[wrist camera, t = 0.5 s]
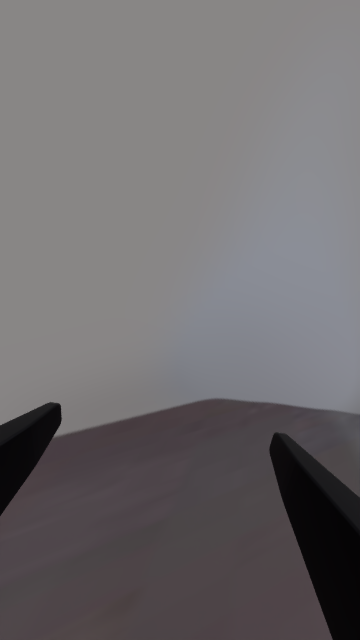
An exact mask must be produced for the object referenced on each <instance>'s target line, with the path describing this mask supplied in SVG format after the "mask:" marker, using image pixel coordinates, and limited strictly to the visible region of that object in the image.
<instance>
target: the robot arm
mask: <svg viewBox="0 0 360 640" xmlns="http://www.w3.org/2000/svg"><path fill="white" fill-rule="evenodd" d="M61 419H62V418H61V405H60V404H59V403H53V402H50V403H47V404H45V405H43V406H41V407H38V408H37V409H34V410H32V411H30V412H28V413H26V414H24V415H22V416H19V417H17V418H15V419H13V420H11V421H9V422H7V423H5V424H2V425H0V516H1V514H2V513H3V511H4V510H5V509H6V507H7V506H8V504H9V503H10V501H11V500H12V499H13V497H14V496H15V494H16V493H17V492H18V490H19V489H20V487H21V486H22V485H23V483H24V482H25V480H26V479H27V478H28V476H29V475H30V473H31V472H32V470H33V469H34V467H35V466H36V464H37V463H38V461H39V460H40V458H41V456H42V455H43V453H44V451H45V450H46V448H47V446H48V445H49V443H50V441H51V439H52V438H53V436H54V434H55V433H56V431H57V429H58V428H59V426H60V424H61ZM269 451H270V456H271V460H272V464H273V467H274V471H275V475H276V478H277V482H278V486H279V490H280V493H281V496H282V500H283V503H284V506H285V509H286V511H287V514H288V517H289V520H290V523H291V525H292V528H293V531H294V534H295V536H296V539H297V542H298V545H299V547H300V550H301V553H302V556H303V559H304V561H305V564H306V567H307V570H308V572H309V575H310V578H311V581H312V584H313V586H314V589H315V592H316V595H317V597H318V600H319V603H320V606H321V609H322V611H323V614H324V617H325V620H326V622H327V625H328V628H329V631H330V633H331V636H332V639H333V640H360V497H358V496H357V495H356V494H355V493H354V492H353V491H352V490H350V489H349V488H348V487H347V486H346V485H345V484H343V483H342V482H341V481H340V480H339V479H338V478H337V477H335V476H334V475H333V474H332V473H331V472H330V471H328V470H327V469H326V468H325V467H324V466H323V465H322V464H320V463H319V462H318V461H317V460H316V459H315V458H313V457H312V456H311V455H310V454H309V453H308V452H306V451H305V450H304V449H303V448H302V447H301V446H300V445H298V444H297V443H296V442H295V441H294V440H293V439H291V438H290V437H289V436H288V435H287V434H285V433H280V432H275V433H274V435H273V438H272V441H271V444H270V449H269Z"/></svg>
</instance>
